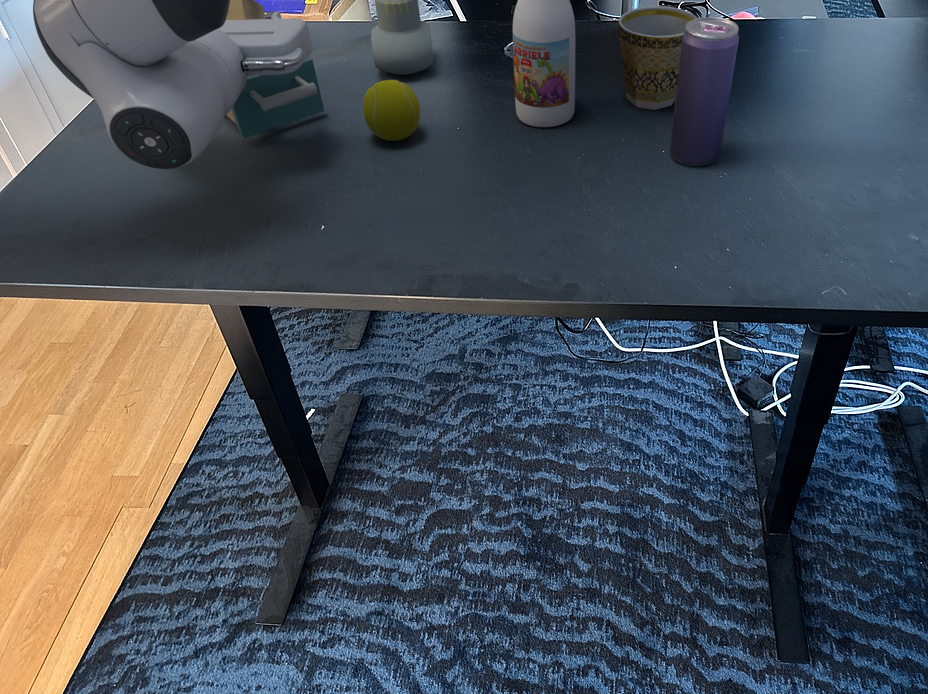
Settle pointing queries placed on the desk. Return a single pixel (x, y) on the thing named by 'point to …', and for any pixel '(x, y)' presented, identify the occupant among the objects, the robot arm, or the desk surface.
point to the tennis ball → (391, 110)
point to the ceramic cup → (652, 54)
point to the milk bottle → (544, 62)
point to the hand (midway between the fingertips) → (236, 19)
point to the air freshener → (401, 38)
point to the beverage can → (703, 89)
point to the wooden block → (245, 10)
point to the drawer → (277, 100)
